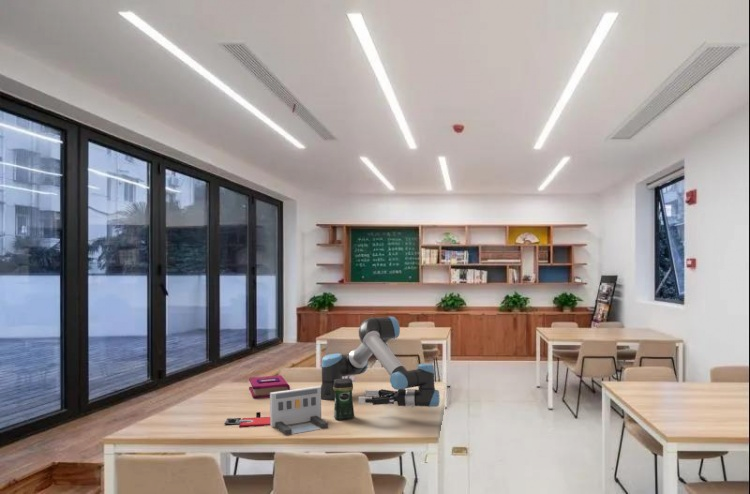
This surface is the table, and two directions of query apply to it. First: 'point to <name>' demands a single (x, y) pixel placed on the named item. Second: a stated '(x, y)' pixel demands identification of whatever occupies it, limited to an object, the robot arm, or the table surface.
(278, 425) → the cord cover
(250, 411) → the table surface
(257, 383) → the book
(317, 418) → the cord cover
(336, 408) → the coffee jar
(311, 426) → the pad
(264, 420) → the red board with handle
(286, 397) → the breaker panel
